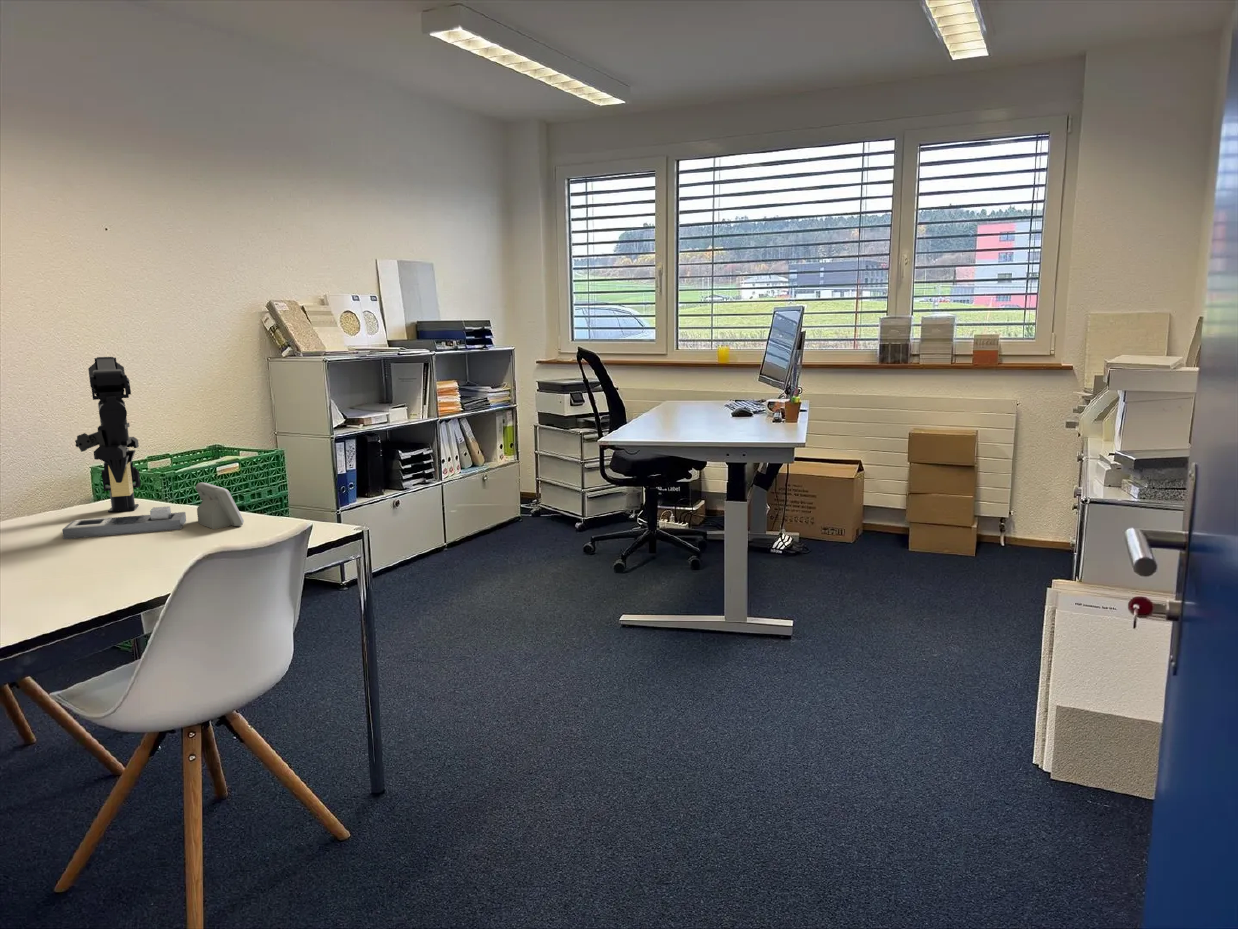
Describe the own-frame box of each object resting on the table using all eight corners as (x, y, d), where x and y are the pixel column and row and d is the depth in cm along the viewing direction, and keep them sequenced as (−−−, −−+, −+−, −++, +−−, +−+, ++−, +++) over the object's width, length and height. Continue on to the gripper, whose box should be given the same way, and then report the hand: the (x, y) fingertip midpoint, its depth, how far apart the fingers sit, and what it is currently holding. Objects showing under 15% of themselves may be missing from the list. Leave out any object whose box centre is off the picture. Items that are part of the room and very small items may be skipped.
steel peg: (155, 526, 212) (153, 507, 211) (172, 524, 214) (170, 506, 213) (152, 529, 209) (149, 511, 208) (169, 528, 210) (167, 509, 209)
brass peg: (115, 493, 208) (111, 463, 206) (133, 492, 209) (129, 462, 208) (112, 496, 204) (108, 465, 203) (130, 495, 205) (126, 464, 204)
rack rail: (74, 530, 208) (72, 519, 208) (186, 520, 217) (185, 510, 216) (63, 539, 200) (62, 528, 199) (180, 529, 209) (179, 518, 208)
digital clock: (246, 527, 211) (242, 487, 209) (208, 533, 205) (204, 492, 203) (230, 515, 223) (226, 477, 221) (194, 520, 218) (190, 482, 216)
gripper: (86, 417, 209) (94, 476, 212) (65, 427, 192) (73, 490, 195) (135, 415, 213) (142, 473, 216) (118, 424, 195) (126, 487, 198)
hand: (121, 480), depth 206 cm, fingers closed on brass peg, 4 cm apart
